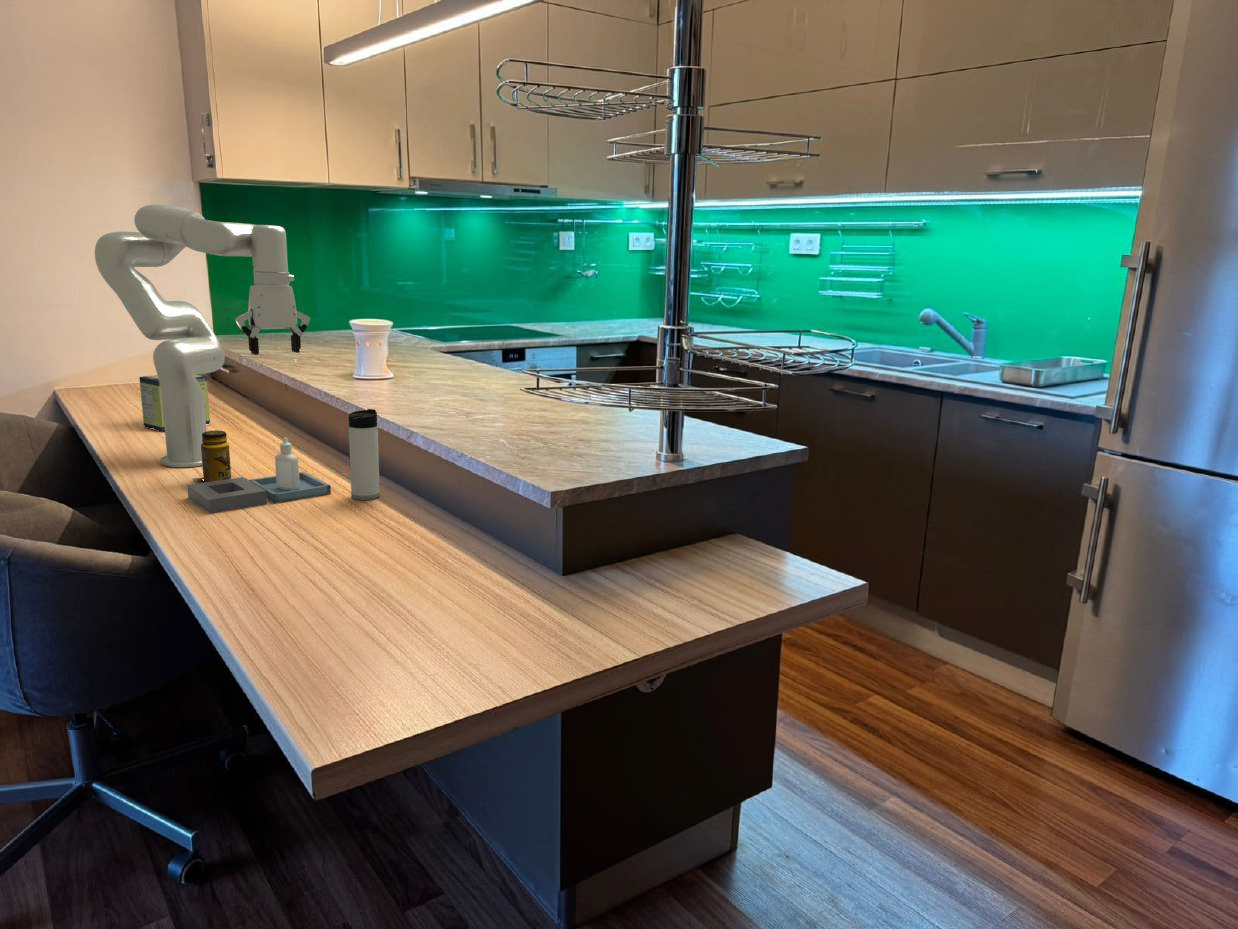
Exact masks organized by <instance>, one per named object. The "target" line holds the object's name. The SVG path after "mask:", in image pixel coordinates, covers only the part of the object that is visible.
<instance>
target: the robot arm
mask: <svg viewBox="0 0 1238 929" xmlns="http://www.w3.org/2000/svg"><path fill="white" fill-rule="evenodd" d="M133 220H134V225H135V226H134V227H136V230H137V232H136V231H113V232H109V233H106V234H103V235H101V236H100V237H99V238H98V239H97V241H96V243H95V246H94V247H95V248H94V260H95V265H96V267H97V269H98V272H99V274H100V275H101V277H102V278H103V280H104V281H105V282H106V284H107V285H108V286H109V287H110V288H111V290H112V291H113V292H114V293H115V294H116V296H117V297H118V299H119V301H120V302H121V303H122V305H123V307H124V308H125V310H126V311H127V313H128V314H129V316H130V317H131V319H132V321H133V322H134V324H135V325H136V327H137V328H138V330H139V331H140V332H141V334H142V335H143V336H144V337H145V338H146V339H148V340H152V341H162V342H160V343H159V344H158V345H156V346H155V348H154V350H153V355H152V359H153V366H154V368H155V372H156V373H157V374H156V375H158V378H159V383H160V389H161V397H162V407H163V417H164V428H165V432H164V436H165V446H166V447H165V448H166V455H165V456H162V457H161V458H160V464H161V465H162V466H165V467H169V468H190V467H191V468H192V467H193V468H194V467H200V466H203V465H202V453H201V445H202V443H203V442H202V439H203V438H202V433H204V432H206V431H207V426H206V419H205V406H204V396H203V391H202V388H201V386H200V385H199V383H198V381H197V380H196V378H195V375H198V374H199V375H205V374H210V373H214V372H216V371H219V370H220V369H221V368H222V367H223V366H224V363H225V359H226V358H225V357H226V356H225V351H224V347H223V346H222V344H221V342H220V340H219V339H218V337H217V336H216V334H215V332H214V330H212V328H211V326H210V325H209V323H208V321H207V320H206V318H205V317H204V315H203V314H202V312H201V311H200V310H199V308H197V307H196V306H195V305H194V304H192V303H190V302H187V301H183V300H170V301H169V300H166V299H164V297H163V296H162V295H161V294H160V293H159V291H158V290H157V288H156V286H155V285H154V283H153V282H152V281H151V280H150V279H149V278H148V277H146V276H145V275H144V274H142V273H141V272H139V271H138V270H137V269H136V268H158V267H159V268H160V267H163V266H165V265H168V264H169V263H170V262H172V260H174V259H175V257H177V256H178V255H179V254H180V253H181V252H182V251H183V250H184V249H185V248H188V249H190V250H192V251H195V252H200V253H204V254H209V255H214V256H220V257H250V258H251V257H252V267H253V268H252V270H253V284H254V285H250V287H249V293H248V294H249V295H248V311H246V312H245V313H242V314H240V315H238V316H237V317H235V319H234V321H235V322H236V324H237V326H238V327H239V330H240V331H241V332H242V333H243V334H245V335H246V337H248V350H249V351H250V353H251V354H252V355H254V356H255V355H256V356H259V355H260V347H259V338H258V337H257V335H258V333H259V332H260V331H261V330H280V329H281V330H284V329H288V330H289V331H290V332H291V333H292V334H291V336H290V345H291V346H290V347H291V348H290V349H291V352H293V353H300V351H301V350H300V349H301V348H302V346H301V345H302V343H301V341H302V340H301V336H303V333H304V332H305V331H306V330H307V329H308V325H309V323H310V321H311V317H310V316H308V315H306V314H304V313H303V312H301V311H298V310H297V306H296V305H297V304H296V300H295V295H294V290H293V287H292V285H290V283H291V282H294V281H295V276H294V275H293V274H290V272H289V265H288V245H287V244H288V243H287V232H286V230H285V228H284V227H282V226H280V225H271V224H270V225H269V224H253V223H241V222H228V221H227V222H224V221H217V220H216V221H214V220H208V219H205V217H204V216H203V215H202V214H200V213H199V212H196V211H192V210H189V209H188V208H186V207H182V206H177V205H166V204H148V205H147V204H146V205H144V206H142V207H140V208H139V209H138V210H137V211H136V212H135V215H134V218H133ZM298 319H301V323H300V324H299V325H298ZM247 320H248V324H249V326H250V327H248V326H247V325H246V322H245V321H247ZM297 325H298V326H297Z"/></svg>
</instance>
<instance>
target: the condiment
mask: <svg viewBox="0 0 1238 929" xmlns="http://www.w3.org/2000/svg"><path fill="white" fill-rule="evenodd" d="M227 435H228V434H227V432H226V431H225V430H224V431H223V430H216V429H215V430H208V431H207V430H206V432H204V433H202V438H203V439H202V442H203V443H202V445H201V453H202V465H201V466H202V475H203V477H194V478H191V480H192V482H193V484H194V483H195V484H198V483H205V482H212V481H219V480H226V479H233V478H232V467H231V456H230V444H229V442H228V438H227ZM202 479H204V481H203V480H202Z"/></svg>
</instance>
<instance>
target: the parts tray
mask: <svg viewBox="0 0 1238 929" xmlns="http://www.w3.org/2000/svg"><path fill="white" fill-rule="evenodd" d="M248 481H250V482H252V483H253V484H255V485H257V486H259V487H260V488H262V489H264V490H265V491H266V498H267V501H268V500H269V501H270V502H272V503H273V504H278V503H286V502H290V501H291V502H292V501H296V500H302V499H308V498H309V499H310V498H313V497H319V496H320V497H321V496H326V495H332V488H331V484H328V483H326V482H324V481H322V480H320V479H318V478H316V477H314V476H313V475H311V474H308V473H307V472H304V471H301V472H300V471H299V482H300V488H299V489H297V490H293V491H288V490H282V489H279V488H277V485H276V475H273V476H266V477H259V478H252V479H248Z"/></svg>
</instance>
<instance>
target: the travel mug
mask: <svg viewBox="0 0 1238 929" xmlns="http://www.w3.org/2000/svg"><path fill="white" fill-rule="evenodd" d="M378 429H379V428H378V412H377V411H376V409H374V408H373V409H371V408H368V409H364V410H363V409H361V410H356V411H352V412H350V413H349V414H348V444H349V469H350V490H351V492H350V495H351V498H352V499H354V500H357V501H371V500H372V501H373V500H376V499H378V498H379V497H380V496H381V495H380V492H381V491H380V490H381V489H380V467H379V466H380V464H379V461H380V460H379V432H378V431H379V430H378ZM377 497H378V498H377ZM375 498H376V499H375Z"/></svg>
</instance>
